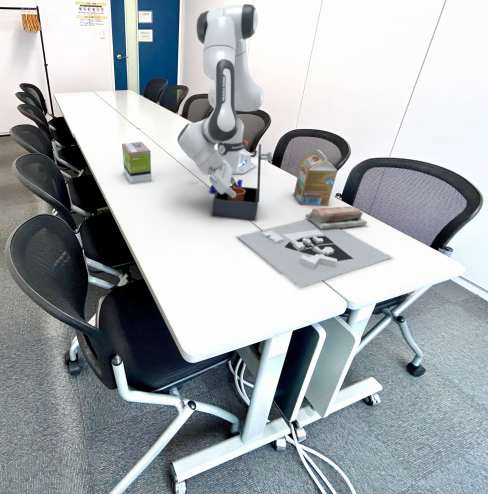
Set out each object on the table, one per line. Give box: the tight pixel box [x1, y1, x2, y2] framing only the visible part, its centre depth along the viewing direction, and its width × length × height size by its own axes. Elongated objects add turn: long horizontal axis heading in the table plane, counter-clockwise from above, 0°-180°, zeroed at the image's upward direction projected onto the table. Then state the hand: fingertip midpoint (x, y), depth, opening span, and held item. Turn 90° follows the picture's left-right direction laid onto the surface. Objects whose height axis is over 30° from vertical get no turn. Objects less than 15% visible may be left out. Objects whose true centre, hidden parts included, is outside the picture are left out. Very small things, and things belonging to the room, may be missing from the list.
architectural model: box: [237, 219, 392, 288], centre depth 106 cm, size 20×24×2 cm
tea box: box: [121, 141, 152, 185], centre depth 155 cm, size 15×10×15 cm, turn 18°
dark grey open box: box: [211, 185, 259, 222], centre depth 127 cm, size 16×15×7 cm
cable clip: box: [210, 179, 243, 194], centre depth 141 cm, size 12×4×6 cm, turn 65°
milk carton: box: [293, 149, 338, 206], centre depth 132 cm, size 11×11×19 cm
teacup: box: [227, 188, 246, 201], centre depth 127 cm, size 6×6×7 cm
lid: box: [256, 143, 273, 203], centre depth 119 cm, size 16×15×5 cm
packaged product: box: [304, 206, 368, 229], centre depth 118 cm, size 18×5×10 cm
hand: (235, 191), depth 125 cm, fingers open, 8 cm apart
